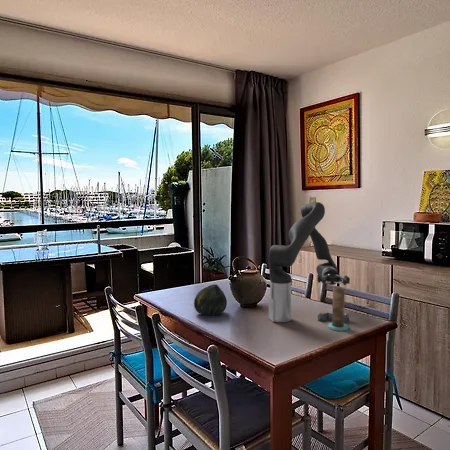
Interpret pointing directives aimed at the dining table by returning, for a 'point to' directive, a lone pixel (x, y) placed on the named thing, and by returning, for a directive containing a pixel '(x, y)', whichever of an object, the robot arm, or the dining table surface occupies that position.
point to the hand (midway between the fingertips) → (335, 282)
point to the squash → (210, 301)
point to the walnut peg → (338, 307)
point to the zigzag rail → (330, 316)
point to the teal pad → (338, 327)
